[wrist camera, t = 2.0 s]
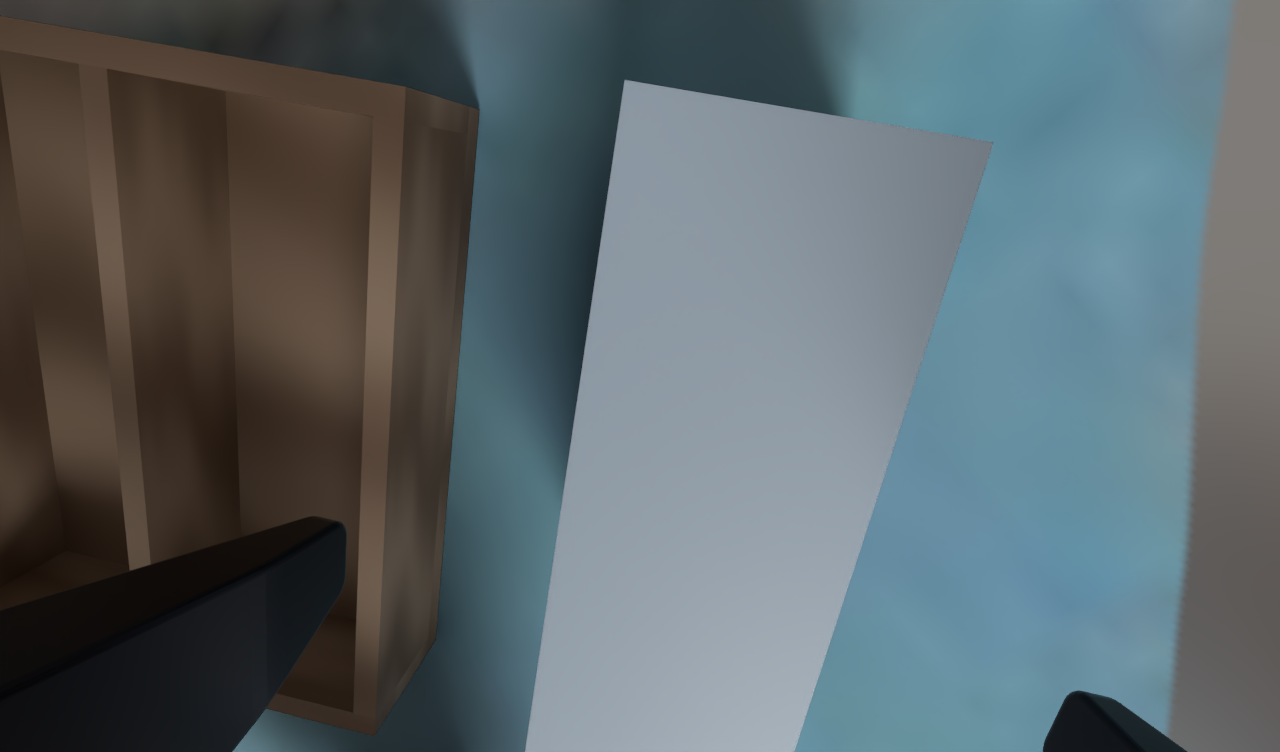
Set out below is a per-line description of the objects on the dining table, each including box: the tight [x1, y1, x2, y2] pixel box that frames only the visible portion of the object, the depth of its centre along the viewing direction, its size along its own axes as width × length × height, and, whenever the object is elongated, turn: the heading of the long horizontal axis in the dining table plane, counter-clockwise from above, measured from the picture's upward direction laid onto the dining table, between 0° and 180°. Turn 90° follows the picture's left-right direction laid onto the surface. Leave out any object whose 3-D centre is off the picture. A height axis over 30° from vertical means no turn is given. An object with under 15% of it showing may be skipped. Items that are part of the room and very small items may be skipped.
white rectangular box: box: [525, 80, 993, 752], centre depth 12 cm, size 12×4×8 cm, turn 171°
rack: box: [0, 16, 479, 736], centre depth 16 cm, size 16×19×4 cm
